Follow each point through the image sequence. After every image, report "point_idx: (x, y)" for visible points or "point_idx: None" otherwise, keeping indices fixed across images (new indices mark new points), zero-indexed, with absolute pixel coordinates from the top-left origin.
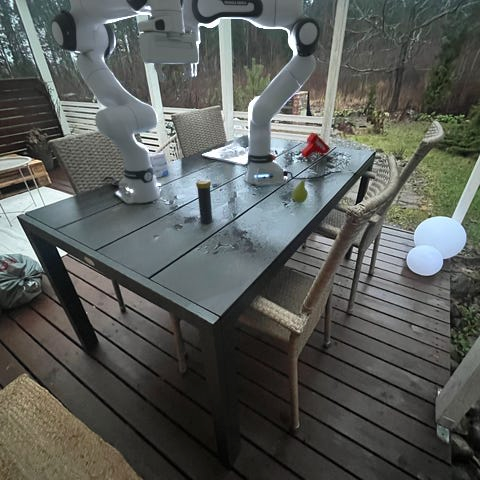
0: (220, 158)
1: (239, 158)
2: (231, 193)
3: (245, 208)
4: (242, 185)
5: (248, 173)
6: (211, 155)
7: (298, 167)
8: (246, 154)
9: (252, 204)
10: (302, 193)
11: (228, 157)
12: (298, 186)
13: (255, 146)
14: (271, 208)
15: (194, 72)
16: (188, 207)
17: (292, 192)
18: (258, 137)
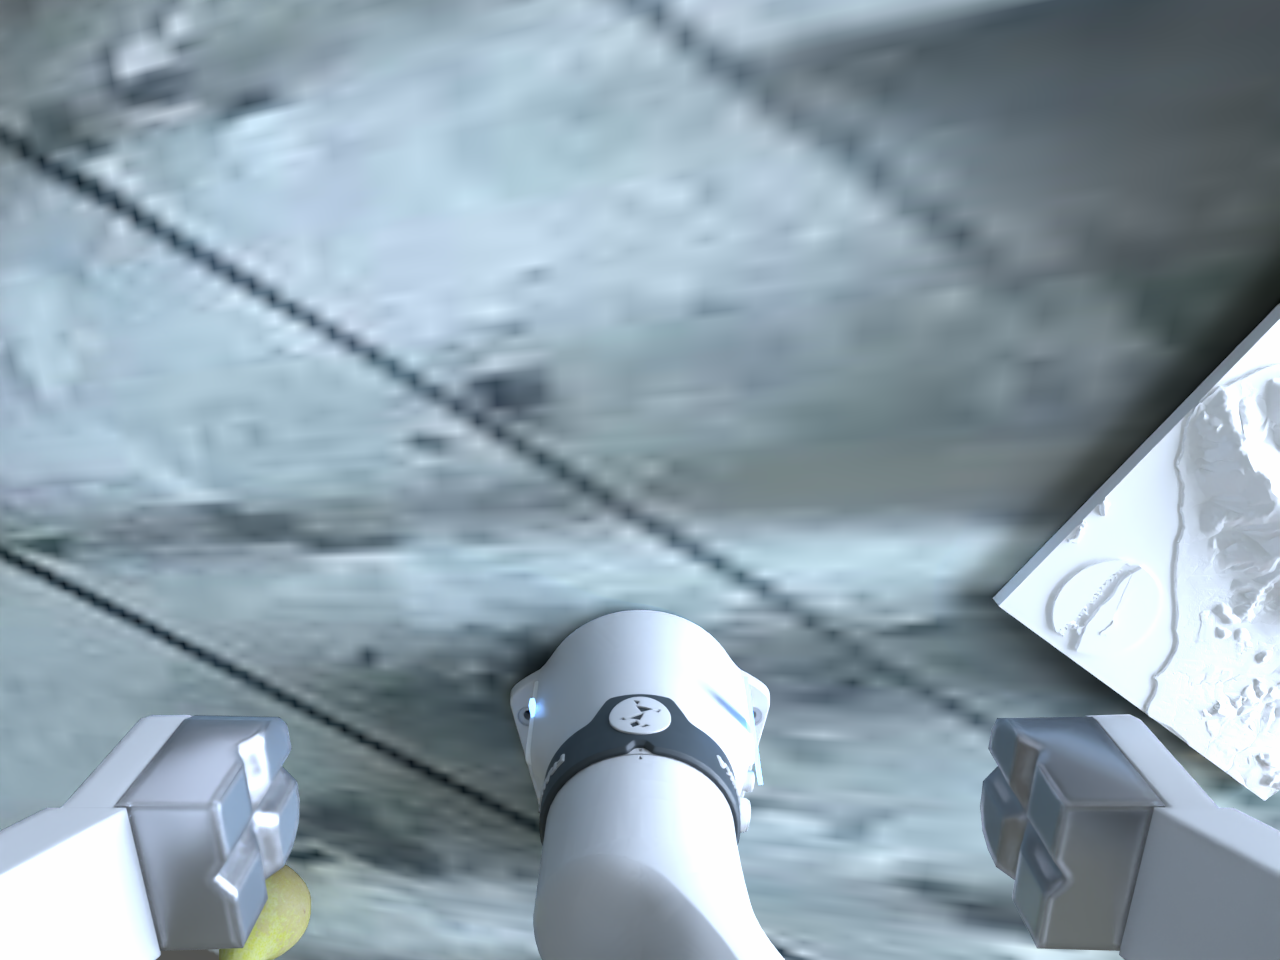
0: (1205, 395)
1: (1163, 572)
2: (372, 518)
3: (149, 605)
4: (527, 588)
5: (598, 662)
6: None
7: (894, 955)
8: (1272, 634)
9: (213, 644)
10: None
11: (1201, 475)
12: None
13: (545, 858)
14: None
15: (1024, 876)
16: (92, 242)
17: None
18: (548, 941)
